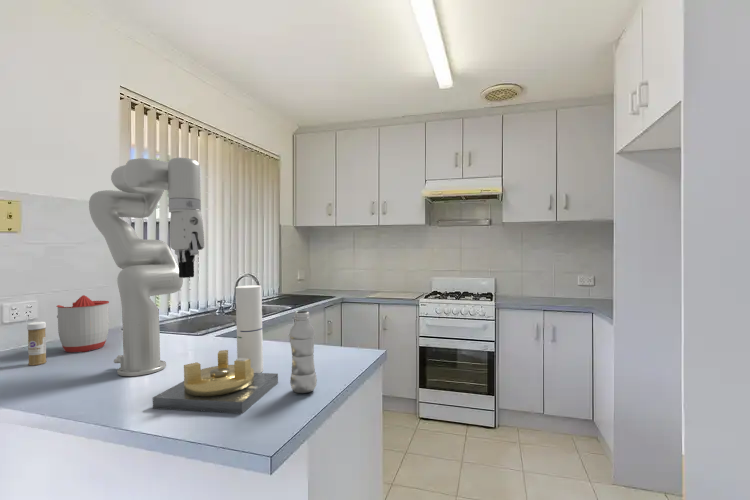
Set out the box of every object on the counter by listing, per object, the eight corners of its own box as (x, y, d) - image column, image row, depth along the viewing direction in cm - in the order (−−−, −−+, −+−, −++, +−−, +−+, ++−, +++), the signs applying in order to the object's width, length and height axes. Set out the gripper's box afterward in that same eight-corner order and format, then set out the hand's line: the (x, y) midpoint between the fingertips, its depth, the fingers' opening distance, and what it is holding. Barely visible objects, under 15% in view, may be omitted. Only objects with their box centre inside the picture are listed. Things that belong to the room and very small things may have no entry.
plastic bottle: (305, 398, 93) (303, 315, 92) (284, 393, 96) (282, 312, 96) (322, 389, 98) (320, 310, 98) (302, 385, 102) (300, 309, 101)
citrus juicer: (79, 343, 152) (78, 292, 152) (120, 343, 150) (119, 292, 150) (41, 354, 137) (39, 298, 136) (86, 355, 135) (85, 298, 135)
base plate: (152, 408, 88) (152, 395, 88) (203, 379, 107) (202, 369, 107) (242, 413, 85) (242, 400, 85) (278, 382, 104) (277, 372, 103)
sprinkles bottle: (25, 366, 123) (24, 324, 122) (31, 362, 127) (30, 322, 127) (43, 364, 124) (42, 323, 124) (49, 361, 128) (48, 320, 128)
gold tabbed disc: (227, 398, 86) (226, 369, 86) (168, 392, 90) (167, 365, 90) (266, 375, 102) (265, 350, 101) (214, 371, 106) (213, 347, 106)
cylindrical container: (255, 376, 109) (253, 288, 109) (232, 375, 111) (230, 287, 110) (267, 368, 116) (265, 285, 116) (245, 367, 118) (244, 285, 117)
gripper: (213, 205, 99) (214, 277, 99) (186, 209, 108) (187, 275, 109) (183, 203, 93) (185, 279, 93) (157, 208, 102) (159, 277, 103)
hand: (186, 277), depth 101 cm, fingers closed
